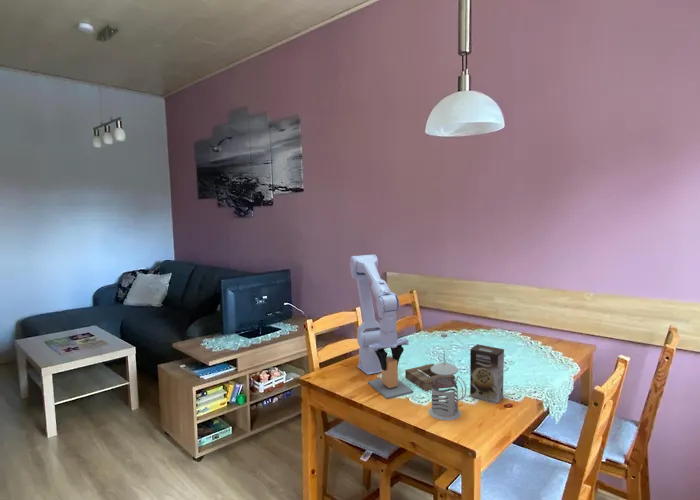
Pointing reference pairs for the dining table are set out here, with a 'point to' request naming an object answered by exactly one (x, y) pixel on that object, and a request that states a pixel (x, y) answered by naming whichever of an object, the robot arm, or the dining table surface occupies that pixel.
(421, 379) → the brown wooden tray
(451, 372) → the french press
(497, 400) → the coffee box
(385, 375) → the orange brown block
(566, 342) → the dining table surface
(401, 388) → the mat
